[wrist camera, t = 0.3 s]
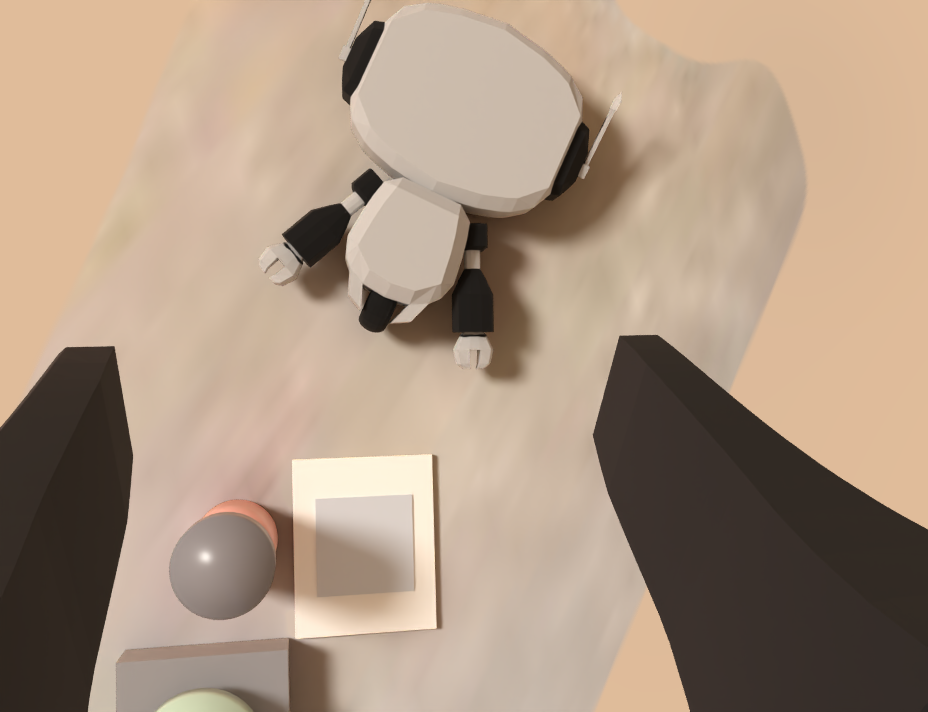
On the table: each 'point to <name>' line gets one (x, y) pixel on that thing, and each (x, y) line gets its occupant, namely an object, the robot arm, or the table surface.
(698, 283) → the table surface
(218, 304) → the table surface
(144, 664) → the button housing
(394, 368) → the table surface
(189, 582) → the marker
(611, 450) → the robot arm
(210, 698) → the button
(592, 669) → the table surface
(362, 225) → the robot toy
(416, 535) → the cream rectangular plate
